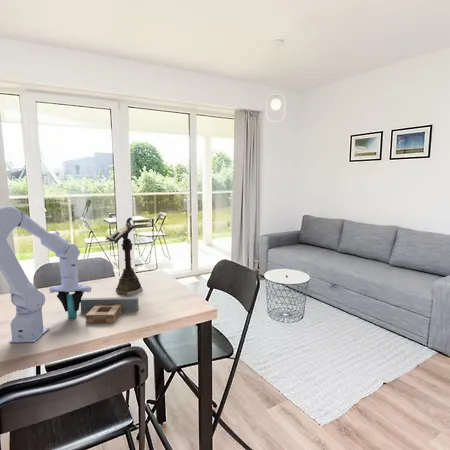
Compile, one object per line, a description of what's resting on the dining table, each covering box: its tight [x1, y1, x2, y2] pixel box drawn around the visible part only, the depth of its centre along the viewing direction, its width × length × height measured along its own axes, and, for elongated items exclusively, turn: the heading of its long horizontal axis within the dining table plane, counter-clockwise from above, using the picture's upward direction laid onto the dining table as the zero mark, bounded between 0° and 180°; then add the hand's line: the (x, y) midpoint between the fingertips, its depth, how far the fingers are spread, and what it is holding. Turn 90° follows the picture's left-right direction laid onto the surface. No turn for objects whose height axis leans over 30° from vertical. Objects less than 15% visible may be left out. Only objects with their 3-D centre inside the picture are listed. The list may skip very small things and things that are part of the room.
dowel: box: [66, 293, 78, 321], centre depth 120 cm, size 3×3×9 cm
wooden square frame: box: [85, 304, 123, 324], centre depth 121 cm, size 10×10×3 cm
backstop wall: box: [80, 296, 139, 313], centre depth 128 cm, size 4×22×5 cm, turn 92°
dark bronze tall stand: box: [105, 217, 143, 296], centre depth 145 cm, size 17×13×35 cm
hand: (72, 310), depth 120 cm, fingers closed on dowel, 3 cm apart
